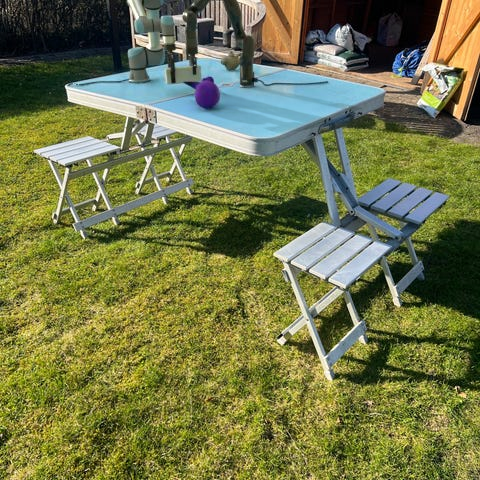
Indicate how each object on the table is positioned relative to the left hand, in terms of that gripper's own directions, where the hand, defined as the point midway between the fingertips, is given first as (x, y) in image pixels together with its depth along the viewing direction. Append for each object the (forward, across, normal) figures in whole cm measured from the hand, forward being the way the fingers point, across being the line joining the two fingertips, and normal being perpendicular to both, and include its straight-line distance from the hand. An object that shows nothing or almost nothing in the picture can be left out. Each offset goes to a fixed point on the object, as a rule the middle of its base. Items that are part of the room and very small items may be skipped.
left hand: (172, 82), depth 292 cm
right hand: (-4, 0, -14) cm, 15 cm away
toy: (+9, -36, -12) cm, 39 cm away
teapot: (+9, +73, -62) cm, 96 cm away
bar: (+1, 0, -7) cm, 7 cm away
